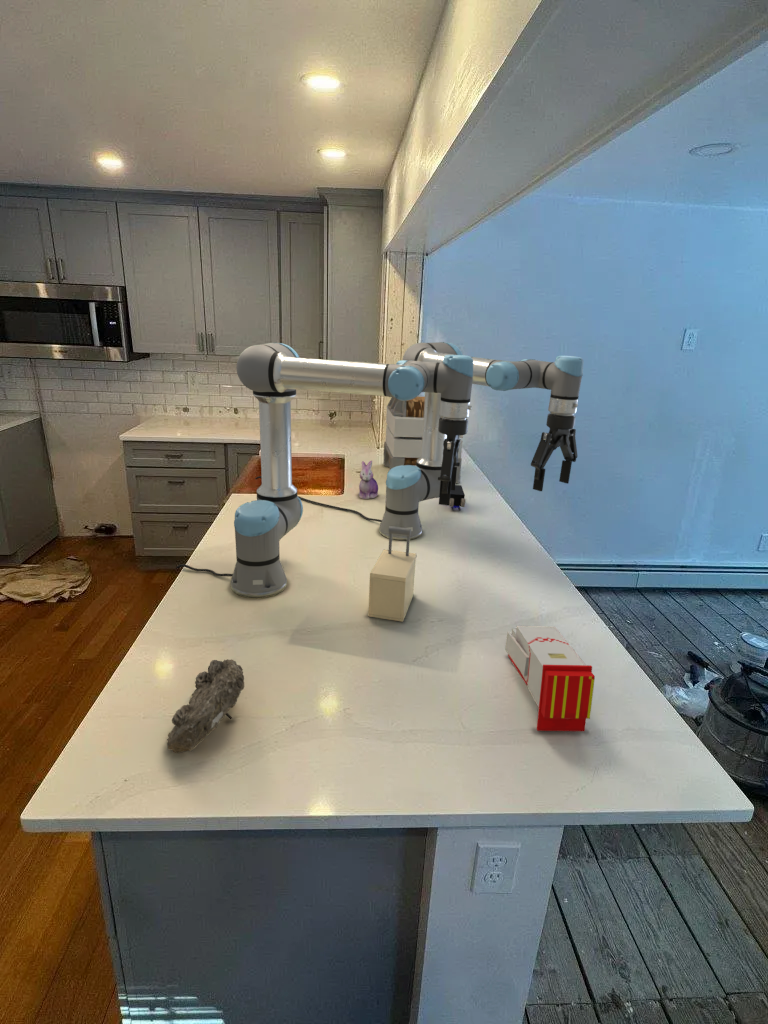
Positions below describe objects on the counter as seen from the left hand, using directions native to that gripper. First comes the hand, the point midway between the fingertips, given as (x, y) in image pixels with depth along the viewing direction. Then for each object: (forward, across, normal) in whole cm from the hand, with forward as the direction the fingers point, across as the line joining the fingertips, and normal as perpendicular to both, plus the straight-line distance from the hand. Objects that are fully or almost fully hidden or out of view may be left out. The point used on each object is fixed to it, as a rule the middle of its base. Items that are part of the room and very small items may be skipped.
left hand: (447, 496), depth 152 cm
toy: (+28, -38, -27) cm, 54 cm away
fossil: (+28, -65, +35) cm, 79 cm away
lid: (+17, -13, +11) cm, 24 cm away
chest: (+28, -13, +11) cm, 33 cm away
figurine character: (+28, +74, +4) cm, 79 cm away
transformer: (+28, +118, +25) cm, 124 cm away
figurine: (+28, +75, +40) cm, 89 cm away
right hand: (0, +21, -28) cm, 35 cm away
